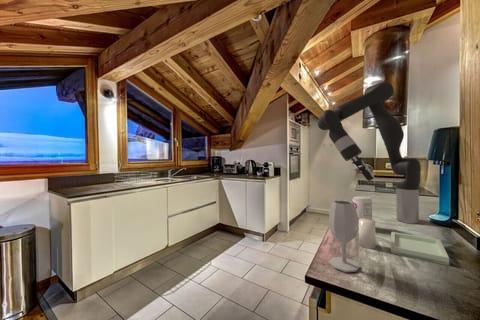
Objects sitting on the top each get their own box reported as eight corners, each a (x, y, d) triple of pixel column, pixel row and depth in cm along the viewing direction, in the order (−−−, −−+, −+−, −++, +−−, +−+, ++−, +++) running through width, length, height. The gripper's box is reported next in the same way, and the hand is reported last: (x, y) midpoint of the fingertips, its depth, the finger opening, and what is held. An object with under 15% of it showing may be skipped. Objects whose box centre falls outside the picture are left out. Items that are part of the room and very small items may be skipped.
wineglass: (346, 276, 61) (345, 206, 60) (323, 262, 69) (322, 200, 68) (365, 269, 64) (364, 203, 64) (342, 256, 72) (341, 198, 72)
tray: (391, 237, 87) (391, 231, 87) (439, 246, 78) (439, 239, 78) (390, 253, 74) (390, 246, 74) (449, 265, 65) (449, 258, 65)
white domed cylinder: (360, 241, 84) (359, 217, 84) (376, 244, 81) (375, 219, 81) (358, 246, 80) (357, 221, 80) (375, 250, 76) (374, 223, 76)
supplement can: (354, 229, 97) (353, 198, 97) (351, 224, 105) (351, 195, 104) (374, 231, 94) (373, 199, 94) (370, 226, 102) (369, 196, 101)
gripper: (353, 140, 83) (379, 174, 77) (357, 145, 95) (380, 175, 88) (336, 150, 86) (360, 183, 80) (342, 154, 98) (363, 184, 92)
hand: (370, 179), depth 84 cm, fingers open, 8 cm apart
